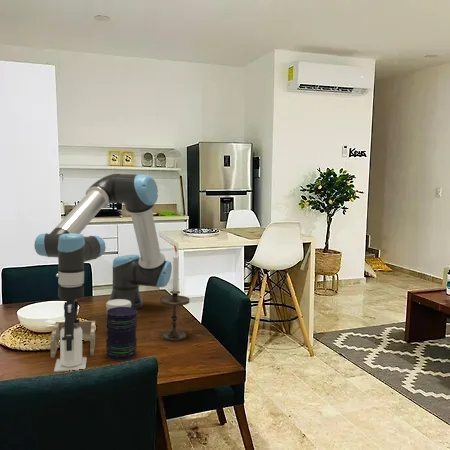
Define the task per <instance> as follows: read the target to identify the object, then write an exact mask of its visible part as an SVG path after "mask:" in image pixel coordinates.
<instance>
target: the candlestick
mask: <svg viewBox="0 0 450 450" xmlns="http://www.w3.org/2000/svg"><path fill="white" fill-rule="evenodd" d="M173 245H174V253H175V254H174V255H173V257H172V259H173V260H172V261H173V262H172V263H173V264H172V290H171V291H169V293H170V294H171V295H170V294H169V295H164V296H162V297H160V298H159V303H160V304H161V305H164V306H169V307H172V315H171V316H170V319H171V321H172V322H171V323H170V325H171V327H172V328H171V330H166V331H164V332H162V333H161V339H163V340H165V341H166V342H167V341H168V342H180V341H184V340H185V339H186V338H187V333H186V332H184V331H182V330H177V326H178V325H179V324H178V322H177V320H178V319H179V316H178V315H177V307H179V306H180V307H181V306H185V305H188V304H190V301H191V300H190V298H189V297H188V296H185V295H179V294H180V293H181V291H179V290H178V289H179V257H180V256H179V255H178V250H177V249H178V248H177V246H176V244H175V243H174V244H173Z"/></svg>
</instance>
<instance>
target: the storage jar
mask: <svg viewBox="0 0 450 450" xmlns="http://www.w3.org/2000/svg"><path fill="white" fill-rule="evenodd" d="M137 327H138V309H135V308H131V307H115V308H111V309H109V310H107V312H106V329H107V339H106V340H105V341H106V342H105V343H106V345H105V348H106V358H107V359H109V360H111V361H118V362H121V361H128V360H131V359H134V358H135V357H136V356H137V348H138V346H137V345H138V343H137V342H138V339H137Z"/></svg>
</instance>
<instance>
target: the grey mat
mask: <svg viewBox="0 0 450 450" xmlns="http://www.w3.org/2000/svg"><path fill="white" fill-rule="evenodd" d="M87 358H88V356H82V363H81V364H80V365H78V366H75V367H64V366H62V365H61V364H60V358H56V362H55V366H54V370H53V372H54V373H58V372H71V371H72V370H75V371H80V370H79V369H85V368H86V369H87V367H86V366H87V361H88V360H87ZM69 370H70V371H69Z"/></svg>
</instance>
